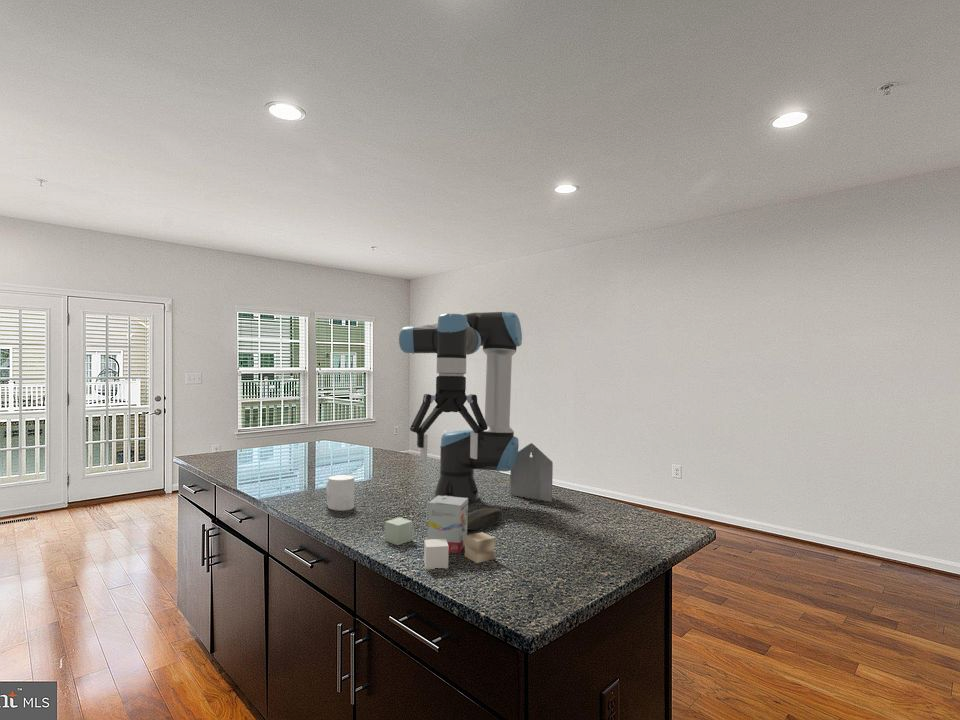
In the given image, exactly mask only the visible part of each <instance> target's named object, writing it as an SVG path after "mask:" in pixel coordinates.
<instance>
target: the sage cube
mask: <svg viewBox="0 0 960 720" xmlns="http://www.w3.org/2000/svg"><path fill="white" fill-rule="evenodd" d="M413 523H414V522H413V521H412V520H410V519H406V518H404V517H400V516H399V517H396V518H392V519H390V520H385V521H384V542H387V543H390V544H393V545H396V546H399V545H403V544H405V543H408V542H411V541H413V531H414V530H413V527H414V526H413Z"/></svg>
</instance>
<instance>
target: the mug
mask: <svg viewBox="0 0 960 720" xmlns="http://www.w3.org/2000/svg"><path fill="white" fill-rule="evenodd" d="M325 489H326V496H327V497H326V504H327V509H330V510H332V511H350V510H353V509H354V508H355V498H354V497H355V493H356V492H355V491H356V490H355V476H354V475H350V474H339V475H337V474H336V475H331V476H329V477H328V480H327V483H326V486H325Z"/></svg>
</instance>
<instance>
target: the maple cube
mask: <svg viewBox="0 0 960 720" xmlns="http://www.w3.org/2000/svg"><path fill="white" fill-rule="evenodd" d="M464 557H465V558H466V557H467V558H466V559H469V560H470V561H472V562H474V563H475V564H479V563H483V562H486V561H491V560H495V537H494V536H492V535H489V534H487V533H485V532H476V533H471V534H467V535H466V536H465V546H464Z"/></svg>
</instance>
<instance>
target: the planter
mask: <svg viewBox="0 0 960 720" xmlns="http://www.w3.org/2000/svg"><path fill="white" fill-rule="evenodd" d="M553 466H554V465H553V461H552V460H551V459H550V458H549V457H548V456H547V455H546V454H545V453H544V452H543V451H541V450H540V449H539V448H538V447H537V446H536V445H535V444H533V442H531V443H529V444H527V445H526V446H524V447H523V448H521V449H520V450H518V454H517V459H516V462H515V465H514V467H513V468H512V470H510V471H509V472H510V474H509V475H510V477H509V478H510V479H509V481H510V482H509V483H510V485H509V495H510V496H511V495H513V497H517V496H520V497H519V498H523V497H526V499H529V498H531V500H535V499H537V500H536V501H541V500H544V501H543V502H547V501H550V502H549V503H552V502H553V473H554V472H553V471H554V470H553V468H554V467H553Z"/></svg>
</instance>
